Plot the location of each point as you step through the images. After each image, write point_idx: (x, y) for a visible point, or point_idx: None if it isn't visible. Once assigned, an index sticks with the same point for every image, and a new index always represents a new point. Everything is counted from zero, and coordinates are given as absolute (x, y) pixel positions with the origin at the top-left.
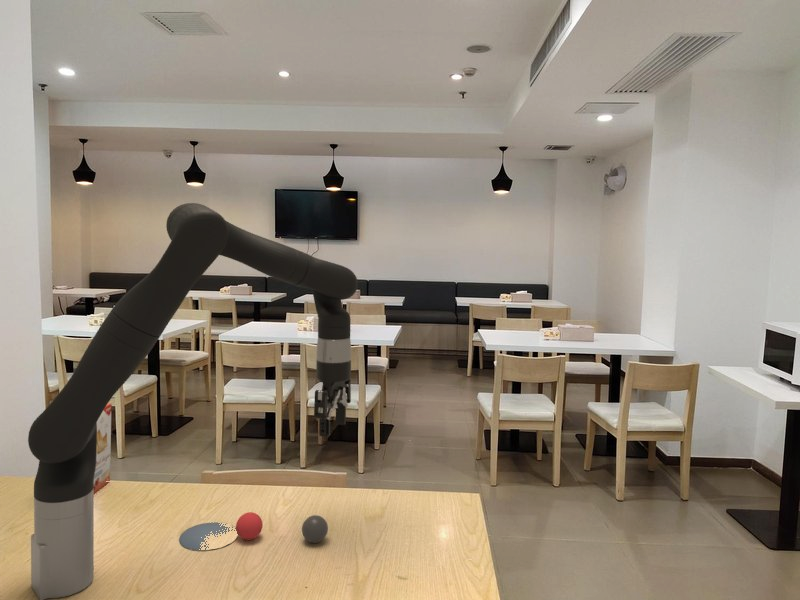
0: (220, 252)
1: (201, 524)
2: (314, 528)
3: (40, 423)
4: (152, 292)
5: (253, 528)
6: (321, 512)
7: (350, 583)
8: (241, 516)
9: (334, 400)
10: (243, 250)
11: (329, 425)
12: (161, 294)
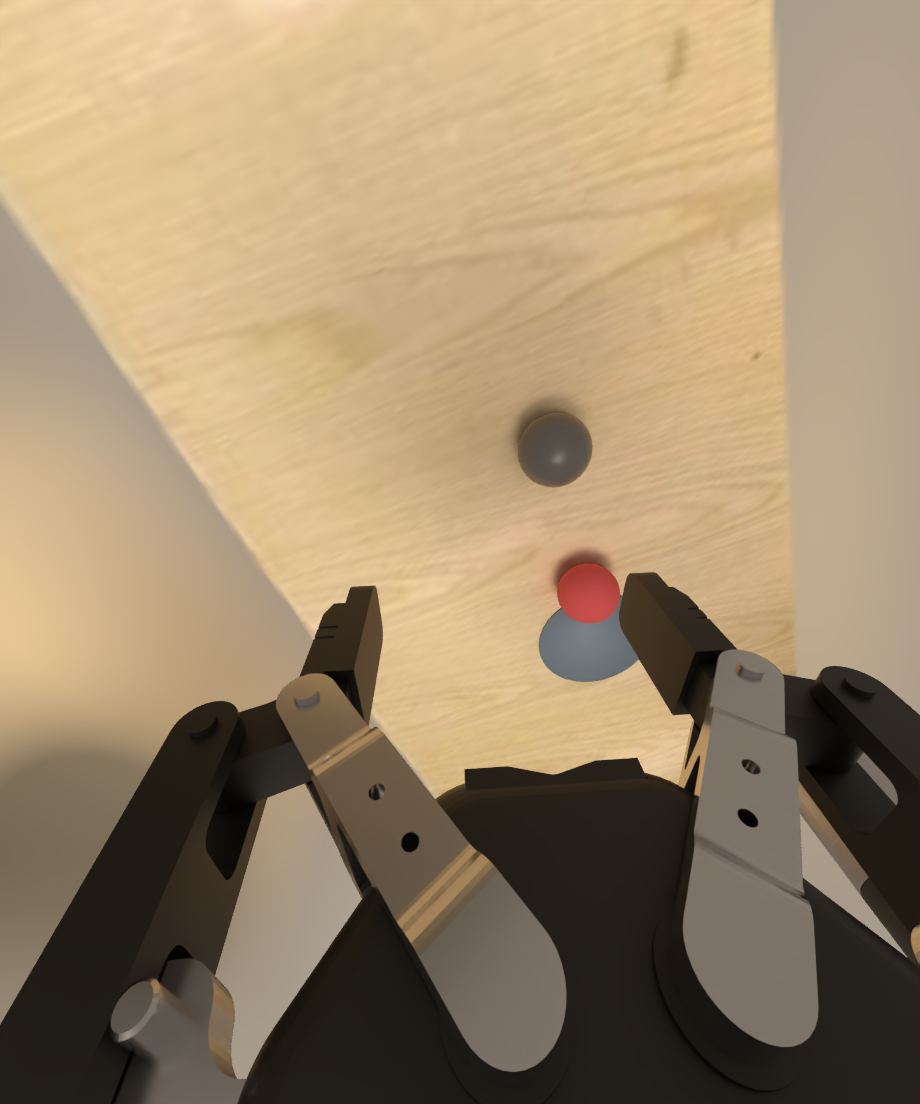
0: None
1: (559, 673)
2: (590, 441)
3: None
4: None
5: (612, 577)
6: (395, 498)
7: (730, 240)
8: (602, 620)
9: (793, 826)
10: None
11: (683, 616)
12: None
